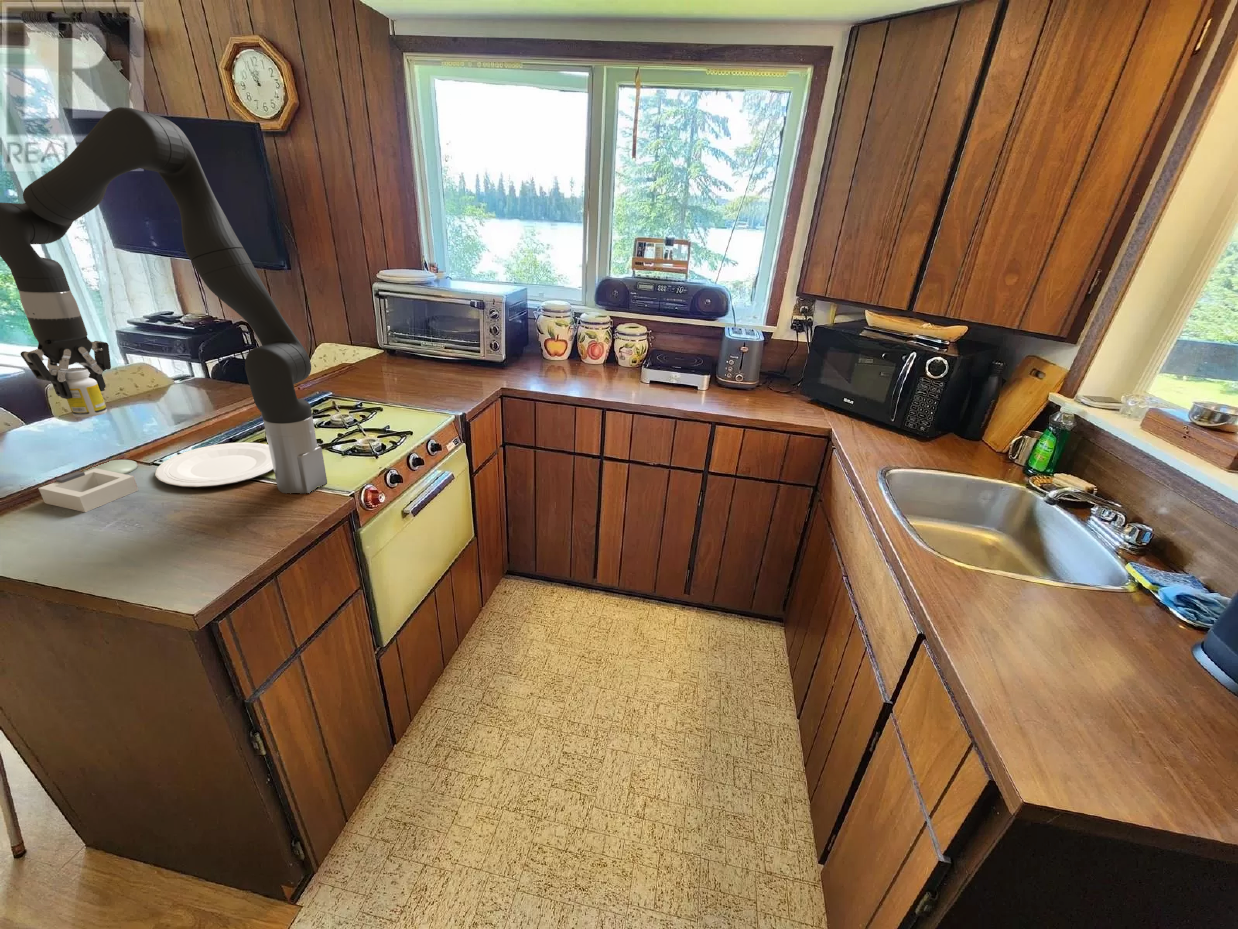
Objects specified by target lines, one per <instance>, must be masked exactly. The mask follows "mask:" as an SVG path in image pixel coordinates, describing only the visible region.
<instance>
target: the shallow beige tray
mask: <svg viewBox="0 0 1238 929" xmlns="http://www.w3.org/2000/svg"><path fill="white" fill-rule="evenodd" d="M38 491H39V493H40V496H41V497H42V499H43V502H44V503H45V504H47V505H52V506H56V507H60V508H64V509H69V510H74V511H78V512H83V513H87V512H89V511H92V510H94V509H97V508H98V507H99V508H100V507H101V506H104V505H106V504H109V503H111V502H114V501H116V500H119V499H121V498H123V497H126V496H128V495H131V494H133V493H135V492H139V487H138V485H137V482H136V479H135V476H134V475H129V474H121V473H116V472H112V471H107V470H102V469H97V468H95V469H92V470H89V471H86V472H83V471H80V470H79V471H75V472H73V473H70V474H67V475H66V474H65V475H64V476H60V477H58V478H55V481H54V482H52V483H49V484H47V485H43V486H41V487H38Z"/></svg>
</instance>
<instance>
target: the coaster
mask: <svg viewBox="0 0 1238 929" xmlns="http://www.w3.org/2000/svg"><path fill="white" fill-rule="evenodd" d="M108 461H109V462H107V463H104V464H101V465H98V466H96V467H92V468H90V469H88V470H85V469H83V471H82V472H86V471H89V470H92V469H95V468H97V469H102V470H107V471H112V472H116V473H121V474H126V475H129V474H131V473H132V472H134V471H136V469H138V462H137V461H134V460H131V459H115V460H114V459H113V460H108Z"/></svg>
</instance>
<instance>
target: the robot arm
mask: <svg viewBox="0 0 1238 929" xmlns="http://www.w3.org/2000/svg"><path fill="white" fill-rule="evenodd" d="M138 169H142V170H144V171H145V170H146V171H152V172H157V173H158V174H159V176H160V177H161V179H162V180H163V181H164V183H165V185H166V186H167V189H169V192H170V193H171V194H172V196H173V198H174V201H175V202H176V204H177V207H178V209H179V214H180V220H181V233H182V241H183V242H182V243H183V246H184V249H185V252H186V255H187V257H188V259H189V260H190V261H191V264H192V265H193V267H194V269H195V270H196V272H197V273H198V275H199V277H200V278H201V280H202V282H203V283H204V284H205V285H206V287H207V288H208V290H210V292H212V293H213V294H214V296H216V297H217V298H218V299H220V300H221V301H222V302H223V303H224V304H226V305H227V306H228V307H229V308H230V309H232V310H233V311H234V312H236V314H237V315H239V316H240V317H241V318H242V319H243V320H245V321H246V323H247V325H249V326H250V328H251V329H252V331H253V332H254V334H255V336H256V337H257V339H258V340H259V342H260V344H261V345H260V346H257V347H254V348H252V349H250V351H248V352H247V354H246V356H245V360H244V365H245V367H244V368H245V373H246V376H247V377H246V378H247V382H248V384H249V388H250V391H251V395H252V398H253V399H252V400H253V402H254V404H255V407H256V408H257V409H258V410H259V412H260V414H261V417H262V421H263V426H264V431H265V435H266V440H267V443H268V445H269V450H270V455H271V459H272V464H273V473H274V477H275V481H276V482H275V483H276V486H277V490H278V491H279V492H281V493H283V494H287V493H290V495H292V494H291V493H300V494H306V493H309V494H311V493H312V492H313V491H312V490H314V489H315V488H316V487H317V486H321V487H323V486H324V485H326V484H327V483H328V479H327V478H328V477H327V472H326V466H325V460H324V455H323V449H322V446H319V445H318V442H317V435H316V430H315V424H314V418H313V413H312V406H311V404H310V402H308V401H307V400H305V399H301V398H298V397H297V393H296V389H295V386H294V385H295V384H298V383H300V382H302V381H304V380H306V379H308V377H309V376H310V374H311V372H312V362H311V358H310V356H309V355H308V352H307V351H306V348H304V346H303V344H302V343H301V341H300V340H299V338H298V337H297V336H296V334H295V333H294V331H293V330H292V329H291V327H290V325H289V324H288V322H287V321H286V320H285V318H284V317H283V315H282V313H281V312H280V310H279V309H278V307H277V305H276V303H275V301H274V300H273V298H272V297H271V295H270V293H269V291H268V290H267V288H266V286H265V285H264V283H263V281H262V279H261V278H260V275H259V274H258V271H257V270H256V268H255V266H254V264H253V261H252V260H251V259H250V257H249V255H248V253H247V252H246V249H245V248H244V246H243V244H242V243H241V241H240V240H239V238H238V236H237V235H236V233H235V230H234V229H233V227H232V226H231V223H230V222H229V220H228V217H227V216H226V214H225V212H224V210H223V209H222V207H221V206H220V204H219V202H218V199H217V197H216V196H215V194H214V192H213V189H212V187H211V185H210V183H209V181H208V179H207V177H206V174H205V172H204V170H203V168H202V165H201V163H200V160H199V158H198V156H197V154H196V151H195V150H194V148H193V146H192V143H191V142H190V140H189V138H188V137H187V135H186V134H185V133H184V130H182V129H181V128H180V127H179V126H178V125H176V124H175V123H174V122H172V121H171V120H169V119H167V118H165V117H162V116H160V115H156V114H153V113H149V112H145V111H142V110H140V109H136V108H132V107H125V106H124V107H123V106H122V107H121V106H120V107H116V108H112V109H111V110H110V111H108V112H107V113H105V114H104V115H103V116H102V117H101V118H100V120H99V121H98V122H97V123H96V124H95V125H94V127H92V129H91V130H90V131H89V133H88V134H86V136H85V137H84V138H83V139H82V141H81V142H80V143H79V144H78V145H77V146H76V147H75V148H74V149H73V150H72V151H71V153H70V154H69V155H68V156H66V158H64V159H63V160H62V161H61V162H60V163H59V164H58V165H57V166H55V167H54V168H53V169H51V170H49V171H47V172H46V173H45V174H43V175H42V176H40V177H39V178H37V179H36V180H34V181H32V182H31V183H29V185H27V186H26V187H25V188H24V190H23V192H22V198H23V201H24V202H23V203H15V202H14V203H13V202H0V258H1V259H2V260H3V261H4V262H5V264H6V265H7V267H8V268H9V270H10V273H11V275H12V278H13V280H14V283H15V286H16V288H17V290H18V293H19V298H20V302H21V306H22V309H23V312H24V314H25V316H26V318H27V321H28V323H29V326H30V328H31V331H32V334H33V336H34V338H35V339H36V340H37V343H38V344H37V349H36V348H35V349H34V350H31V351H21V352H20V356H21V358H22V359H23V361H24V362H25V363H26V365H27V366H28V368H29V369H30V370H31V372H32V373H33V375H34V376H35V378H36V379H38V380H40V381H41V380H42V381H46V382H51V384H52V386H53V389H54V392H55V394H56V395H57V396H58V397H60V398H62V399H66V400H67V399H70V398H72V394H71V392H70V389H69V386H68V384H67V381H65V374H66V371H68V369H69V366H71V365H74V364H79V365H80V366H82V368H87V369H88V372H89V378H93V379H95V380H96V381H97V384H98V386H99V389H100V391H101V392H104V391H105V388H106V383H105V379H104V376H103V372H105V371H107V370H109V371H110V370H111V368H112V364H111V355H110V345H109V343H107V342H104V341H98V340H94V341H91V340H90V339H89V338H88V331H87V328H86V326H85V322H84V320H83V316H82V314H81V311H80V308H79V305H78V303H77V300H76V299H75V297H74V295H73V293H72V291H71V288H70V285H69V282H68V279H67V276H66V273H65V271H64V268H63V266H62V265H61V264H60V263H59V262H58V261H57V260H55V259H51V258H47V257H41V256H40V255H39V254H38V253H37V252H36V250H35V248H34V247H33V246H32V245H46V244H51V243H55V242H57V241H59V240H61V239H62V238H63V237H64V236H65V235H66V234H67V232H68V231H69V229H70V228H71V227H72V225H73V222H74V221H76V220H78V219H80V218H81V217H83V216H85V215H86V214H88V213H89V212H91V211H92V210H94V209H95V208H96V207H97V206H98V205H99V204H100V203H101V202H102V201H103V199H104V197H105V195H106V193H107V188H108V186H109V184H110V183H111V182H112V181H114V179H116V178H118V177H119V176H121V175H123V174H126V173H129V172H132V171H135V170H138ZM91 351H93V355H94V358H93V356H92V355H91V354H90V353H91ZM43 356H44V357H46V358H47V366H46V365H45V363H44V362H43V361H44V357H43ZM322 485H323V486H322ZM311 491H312V492H311ZM314 491H315V490H314ZM310 492H311V493H310Z"/></svg>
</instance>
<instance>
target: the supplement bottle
mask: <svg viewBox="0 0 1238 929" xmlns="http://www.w3.org/2000/svg"><path fill="white" fill-rule="evenodd" d="M89 374H90V373H89V372H88V369H87V368H84V367H68V371H66V374H65V381H67V384H68V386H69V389H70V392H71V394H72V398H70V399H66V402H67V404H68V406H69V408H70V411H71V414H72V415H73V416H74V417H77V418H89V417H96V416H97V417H98V416H101V415H104V414H106V413H107V411H108V408H107V406H106V405H107V404H106V402H105V400H104V396H103V395H102V391H100V389H99V386H98V384H97V381H96V380H95V379H93V378H89Z"/></svg>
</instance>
